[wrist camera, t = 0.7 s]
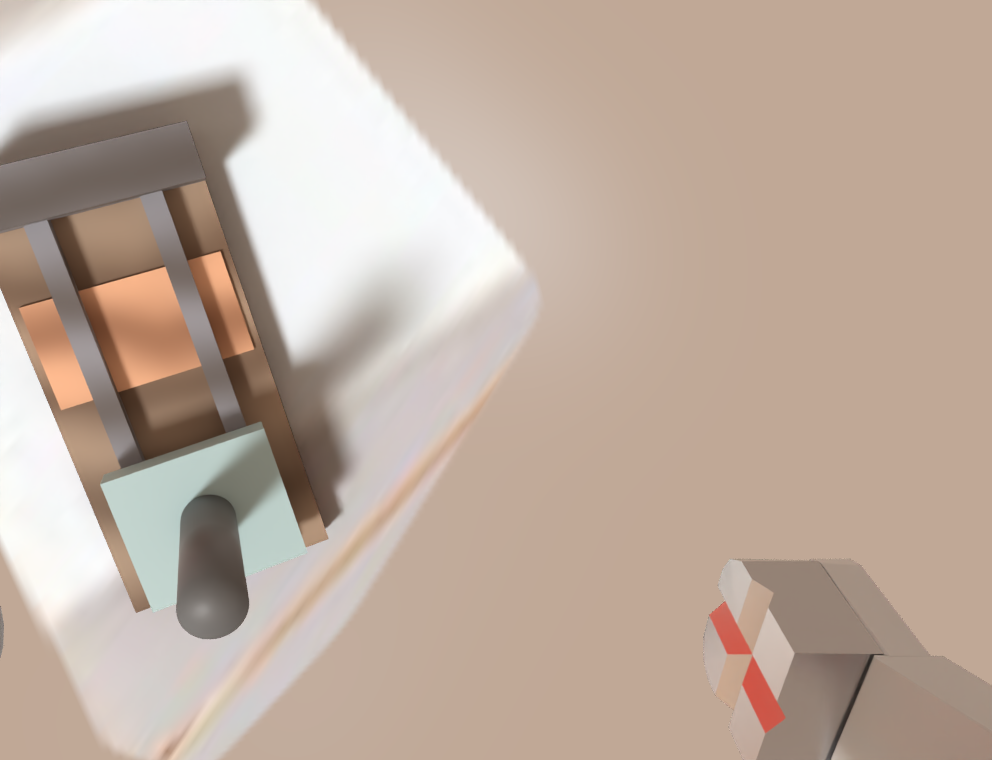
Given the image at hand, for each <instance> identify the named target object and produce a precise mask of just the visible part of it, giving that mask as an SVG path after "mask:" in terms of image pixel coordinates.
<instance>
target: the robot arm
mask: <svg viewBox="0 0 992 760" xmlns="http://www.w3.org/2000/svg"><path fill="white" fill-rule="evenodd" d="M718 587H719V589H720V591H721V593H722V595H723V597H724V599H725V602H723V603H722V604H721V605H720V606H719V607H718V608H717V609H715V610H714V611H713V612H712V613H711V614H710V615H709V617H708V621H707V625H706V629H705V634H704V663H705V668H706V673H707V677H708V680H709V682H710V685H711V687H712V690H713V692H714V694H715V696H716V697H718V698H719V699H720V700H721V701H722V702H724V703H725V704H726V705H727V706H729V707H730V708H731V709H733V710H734V711H733V714H732V717H731V721H730V724H729V729H730V731H731V734H732V736H733V738H734V741H735V743H736V745H737V747H738V750H739V752H740V754H741V756H742V759H743V760H992V685H990V684H989V683H987V682H985V681H984V680H982V679H980V678H979V677H977V676H975V675H974V674H972V673H970V672H968V671H967V670H965V669H964V668H962V667H960V666H959V665H957V664H955V663H953V662H952V661H950V660H949V659H947V658H945V657H944V656H930V655H929V653H928V652H927V651H926V649H925V648H924V647H923V646H922V644H921V643H920V642H919V640H918V639H917V638H916V636H915V635H914V634H913V632H912V631H911V630H910V628H909V627H908V626H907V625H906V623H905V622H904V621H903V619H902V618H901V617H900V615H899V614H898V613H897V612H896V610H895V609H894V608H893V606H892V605H891V604H890V602H889V601H888V600H887V598H886V597H885V596H884V594H883V593H882V592H881V591H880V589H879V588H878V587H877V585H876V584H875V583H874V581H873V580H872V579H871V578H870V576H869V575H868V574H867V572H866V571H865V570H864V568H863V567H862V566H861V565H860V564H858V563H856V562H855V561H853V560H851V559H810V560H768V559H765V560H763V559H730V560H729V561H728V563H727V564H726V565H725V567H724V568H723V570H722V574H721V577H720V580H719V583H718ZM3 631H4V623H3V618H2V611H1V606H0V657H1V653H2V649H3V633H4V632H3Z"/></svg>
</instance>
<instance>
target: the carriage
mask: <svg viewBox="0 0 992 760" xmlns="http://www.w3.org/2000/svg"><path fill="white" fill-rule="evenodd" d="M100 485H101V488H102V490H103V493H104V495H105V497H106V500H107V502H108V505H109V507H110V510H111V512H112V514H113V517H114V519H115V522H116V524H117V527H118V529H119V531H120V534H121V536H122V539H123V541H124V544H125V546H126V548H127V551H128V553H129V556H130V558H131V561H132V563H133V565H134V568H135V570H136V573H137V575H138V578H139V580H140V582H141V585H142V587H143V590H144V592H145V594H146V597H147V599H148V602H149V604H150V607H151V609H152V611H153V613H154V612H156V611H159V610H161V609H164V608H167V607H169V606H172V605H174V604H176V613H177V618H178V621H179V623H180V624H181V626H182V627H183V628H184V629H185V630H186V631H187V632H188V633H189V634H191V635H193V636H195V637H198V638H202V639H217V638H221V637H224V636H226V635H228V634H230V633H232V632H233V631H235V630H236V629H237V628H238V627H239V626H240V625H241V624H242V622H243V621H244V619H245V618H246V615H247V613H248V609H249V598H248V591H247V585H246V578H245V577H247V576H249V575H252V574H254V573H257V572H260V571H262V570H265V569H267V568H270V567H272V566H275V565H278V564H280V563H283V562H285V561H288V560H290V559H293V558H296V557H298V556H301V555H303V554H306V553H308V552H307V549H306V547H305V544H304V541H303V538H302V535H301V532H300V530H299V527H298V524H297V521H296V518H295V515H294V513H293V510H292V507H291V504H290V501H289V498H288V495H287V493H286V490H285V487H284V484H283V481H282V478H281V476H280V473H279V470H278V467H277V464H276V461H275V459H274V456H273V453H272V450H271V447H270V444H269V442H268V439H267V436H266V433H265V430H264V427H263V425H262V422H261V421H260V422H258V423H255V424H252V425H249V426H246V427H243V428H240V429H237V430H234V431H231V432H228V433H225V434H222V435H219V436H216V437H213V438H210V439H207V440H205V441H202V442H199V443H196V444H193V445H190V446H187V447H184V448H181V449H178V450H175V451H172V452H169V453H166V454H163V455H160V456H157V457H155V458H152V459H149V460H146V461H143V462H140V463H137V464H134V465H131V466H128V467H125V468H122V469H119V470H116V471H113V472H110V473H107V474H104V475H103V478H102V481H101V484H100Z"/></svg>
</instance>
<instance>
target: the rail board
mask: <svg viewBox="0 0 992 760" xmlns="http://www.w3.org/2000/svg"><path fill="white" fill-rule="evenodd" d="M205 180H206V176H205V173H204V170H203V167H202V164H201V161H200V158H199V155H198V152H197V150H196V147H195V144H194V141H193V138H192V135H191V132H190V129H189V126H188V123H187V121H184V122H180V123H175V124H171V125H167V126H163V127H159V128H154V129H150V130H146V131H142V132H138V133H133V134H129V135H125V136H121V137H117V138H112V139H108V140H104V141H100V142H96V143H91V144H87V145H83V146H79V147H75V148H70V149H66V150H62V151H58V152H54V153H49V154H45V155H41V156H37V157H33V158H28V159H24V160H20V161H16V162H12V163H7V164H3V165H0V288H1V291H2V293H3V296H4V298H5V300H6V303H7V305H8V308H9V310H10V312H11V315H12V317H13V320H14V322H15V324H16V327H17V329H18V331H19V334H20V336H21V339H22V341H23V343H24V346H25V348H26V351H27V353H28V355H29V358H30V360H31V363H32V365H33V367H34V370H35V372H36V375H37V377H38V379H39V382H40V384H41V386H42V389H43V391H44V394H45V396H46V398H47V401H48V403H49V406H50V408H51V410H52V413H53V415H54V418H55V420H56V422H57V425H58V427H59V430H60V432H61V434H62V437H63V439H64V441H65V444H66V446H67V449H68V451H69V453H70V456H71V458H72V461H73V463H74V465H75V468H76V470H77V473H78V475H79V477H80V480H81V482H82V485H83V487H84V489H85V492H86V494H87V497H88V499H89V501H90V504H91V506H92V508H93V511H94V513H95V516H96V518H97V520H98V523H99V525H100V528H101V530H102V532H103V535H104V537H105V540H106V542H107V544H108V547H109V549H110V552H111V554H112V556H113V559H114V561H115V563H116V566H117V568H118V571H119V573H120V575H121V578H122V580H123V583H124V585H125V587H126V590H127V592H128V595H129V597H130V599H131V602H132V604H133V607H134V609H135V611H136V613H137V612H140V611H142V610H145V609H148V608H150V604H149V602H148V599H147V597H146V594H145V592H144V590H143V587H142V585H141V582H140V580H139V578H138V575H137V573H136V570H135V568H134V565H133V563H132V561H131V558H130V556H129V553H128V551H127V548H126V546H125V544H124V541H123V539H122V536H121V534H120V531H119V529H118V527H117V524H116V522H115V519H114V517H113V514H112V512H111V510H110V507H109V505H108V502H107V500H106V497H105V495H104V493H103V490H102V488H101V485H100V484H101V481H102V478H103V475H104V474H107V473H110V472H113V471H116V470H119V469H122V468H125V467H128V466H131V465H134V464H137V463H140V462H143V461H146V460H149V459H152V458H155V457H157V456H160V455H163V454H166V453H169V452H172V451H175V450H178V449H181V448H184V447H187V446H190V445H193V444H196V443H199V442H202V441H205V440H207V439H210V438H213V437H216V436H219V435H222V434H225V433H228V432H231V431H234V430H237V429H240V428H243V427H246V426H249V425H252V424H255V423H258V422H260V421H261V422H262V425H263V427H264V430H265V433H266V436H267V439H268V442H269V444H270V447H271V450H272V453H273V456H274V459H275V461H276V464H277V467H278V470H279V473H280V476H281V478H282V481H283V484H284V487H285V490H286V493H287V495H288V498H289V501H290V504H291V507H292V510H293V513H294V515H295V518H296V521H297V524H298V527H299V530H300V532H301V535H302V538H303V541H304V544H305V547H308V546H311V545H314V544H316V543H319V542H321V541H324V540H327V539H328V536H327V533H326V530H325V527H324V524H323V521H322V518H321V515H320V512H319V510H318V507H317V504H316V501H315V498H314V495H313V492H312V489H311V486H310V483H309V480H308V478H307V475H306V472H305V469H304V466H303V463H302V460H301V457H300V454H299V451H298V448H297V446H296V443H295V440H294V437H293V434H292V431H291V428H290V425H289V422H288V419H287V416H286V414H285V411H284V408H283V405H282V402H281V399H280V396H279V393H278V390H277V387H276V385H275V382H274V379H273V376H272V373H271V370H270V367H269V364H268V361H267V358H266V355H265V353H264V350H263V347H262V344H261V341H260V338H259V335H258V332H257V329H256V326H255V323H254V321H253V318H252V315H251V312H250V309H249V306H248V303H247V300H246V297H245V294H244V291H243V289H242V286H241V283H240V280H239V277H238V274H237V271H236V268H235V265H234V262H233V260H232V257H231V254H230V251H229V248H228V245H227V242H226V239H225V236H224V233H223V230H222V228H221V225H220V222H219V219H218V216H217V213H216V210H215V207H214V204H213V201H212V198H211V196H210V193H209V190H208V187H207V184H206V181H205Z"/></svg>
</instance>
